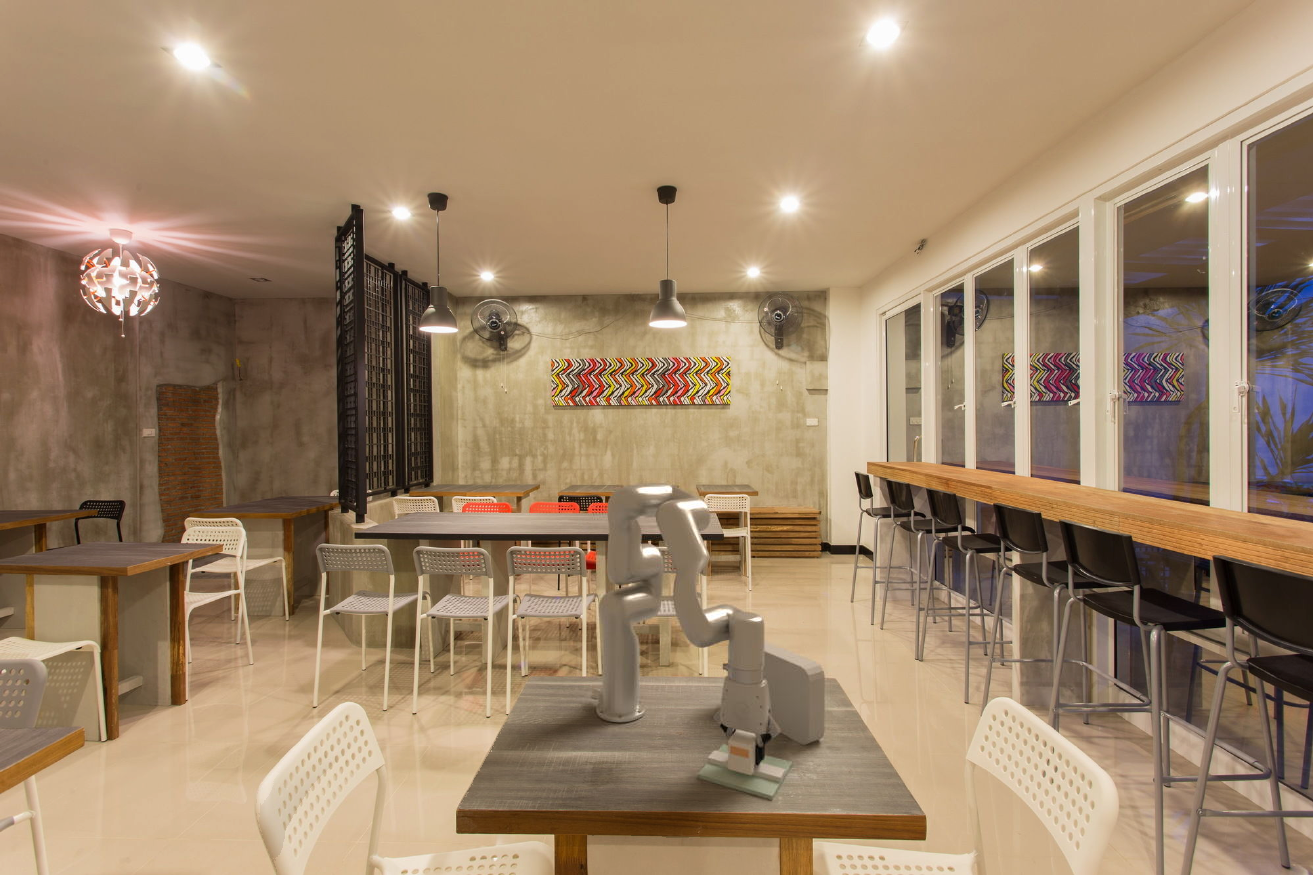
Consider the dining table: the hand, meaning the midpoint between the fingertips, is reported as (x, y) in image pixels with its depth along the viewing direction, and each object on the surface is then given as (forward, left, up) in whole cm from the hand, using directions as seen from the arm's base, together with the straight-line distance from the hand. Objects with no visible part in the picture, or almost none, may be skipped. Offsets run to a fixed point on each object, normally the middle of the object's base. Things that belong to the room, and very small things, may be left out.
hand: (746, 757), depth 128 cm
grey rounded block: (-2, +25, -3) cm, 25 cm away
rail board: (0, 0, -3) cm, 3 cm away
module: (0, 0, -1) cm, 1 cm away
